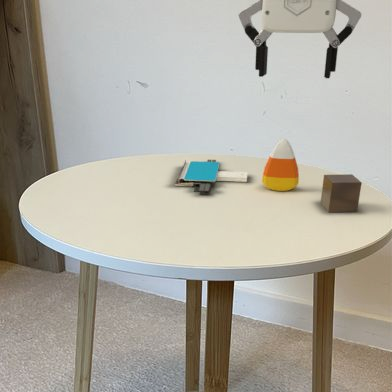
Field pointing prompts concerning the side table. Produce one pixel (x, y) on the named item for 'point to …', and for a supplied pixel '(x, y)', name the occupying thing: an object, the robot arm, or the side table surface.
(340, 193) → the walnut block
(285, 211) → the side table surface
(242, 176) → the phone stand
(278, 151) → the candy corn
